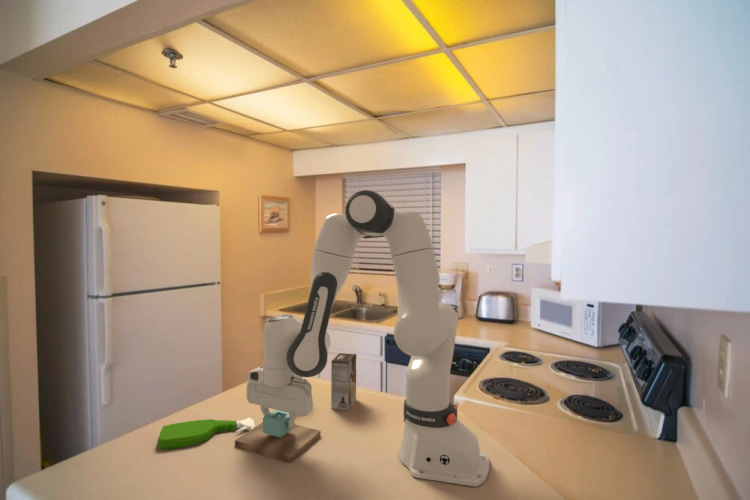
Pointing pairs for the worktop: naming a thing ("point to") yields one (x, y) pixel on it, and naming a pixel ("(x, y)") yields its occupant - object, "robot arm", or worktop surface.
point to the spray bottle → (198, 432)
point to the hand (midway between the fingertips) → (278, 424)
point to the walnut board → (278, 442)
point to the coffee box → (343, 381)
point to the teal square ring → (276, 424)
